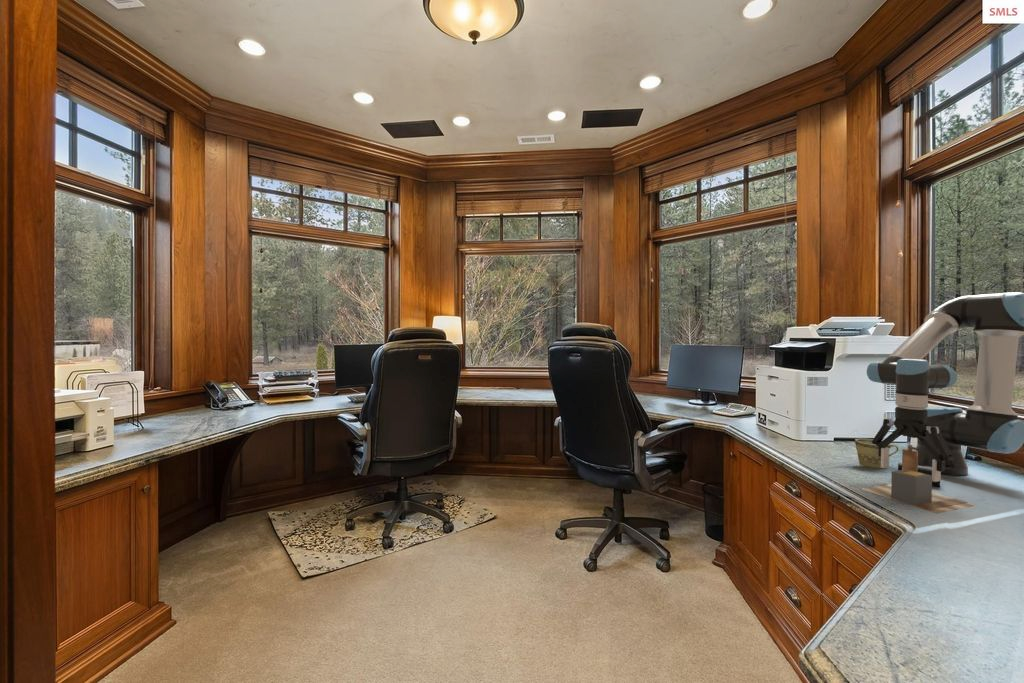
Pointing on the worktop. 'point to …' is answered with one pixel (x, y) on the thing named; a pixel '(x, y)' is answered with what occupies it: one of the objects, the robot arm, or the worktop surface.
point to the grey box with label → (911, 487)
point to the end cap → (923, 470)
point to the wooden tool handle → (910, 459)
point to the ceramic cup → (869, 453)
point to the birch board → (937, 505)
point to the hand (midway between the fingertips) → (909, 474)
